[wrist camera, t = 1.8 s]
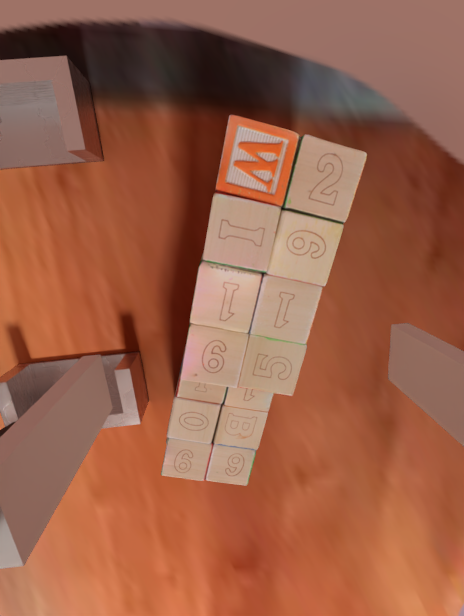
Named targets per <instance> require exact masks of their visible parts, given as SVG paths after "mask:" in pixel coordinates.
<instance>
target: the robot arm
mask: <svg viewBox="0 0 464 616" xmlns="http://www.w3.org/2000/svg"><path fill="white" fill-rule="evenodd" d="M388 379H389V380H390V381H391V382H392V383H393V384H394V385H395V386H397V387H398V388H399V389H400V390H401V391H402V392H403V393H404V394H405V395H407V396H408V397H409V398H410V399H411V400H412V401H413V402H414V403H416V404H417V405H418V406H419V407H420V408H421V409H422V410H423V411H425V412H426V413H427V414H428V415H429V416H430V417H431V418H432V419H433V420H435V421H436V422H437V423H438V424H439V425H440V426H441V427H442V428H444V429H445V430H446V431H447V432H448V433H449V434H450V435H451V436H453V437H454V438H455V439H456V440H457V441H458V442H459V443H460V444H462V445H463V446H464V351H462V350H460V349H458V348H456V347H454V346H452V345H450V344H448V343H446V342H444V341H442V340H440V339H438V338H436V337H435V336H433V335H431V334H429V333H427V332H425V331H423V330H421V329H419V328H417V327H415V326H413V325H411V324H409V323H403V324H393V325H391V339H390V355H389V370H388ZM112 409H113V407H112V403H111V399H110V394H109V390H108V386H107V381H106V377H105V373H104V368H103V364H102V359H101V355H90V356H83V357H82V358H81V359H80V360H79V361H78V362H77V363H75V364H74V365H73V366H72V367H71V368H70V369H69V370H68V371H67V372H66V373H65V374H64V375H63V376H62V377H61V378H60V379H59V380H58V381H57V382H56V383H55V384H54V385H53V386H52V387H51V388H50V389H49V390H48V391H47V392H46V393H45V394H44V395H43V396H42V397H41V398H40V399H39V400H38V401H37V402H36V403H35V404H34V405H33V406H32V407H31V408H30V409H29V410H28V411H27V412H26V413H25V414H24V415H23V416H22V417H20V418H19V419H18V420H17V421H16V422H12V423H11V424H9V425H8V426H6V427H5V428H3V429H1V430H0V569H2V568H11V567H19V566H24V565H25V563H26V561H27V559H28V557H29V556H30V554H31V552H32V550H33V549H34V547H35V545H36V543H37V542H38V540H39V538H40V536H41V534H42V533H43V531H44V529H45V527H46V526H47V524H48V522H49V520H50V519H51V517H52V515H53V513H54V511H55V510H56V508H57V506H58V504H59V503H60V501H61V499H62V497H63V495H64V494H65V492H66V490H67V488H68V487H69V485H70V483H71V481H72V480H73V478H74V476H75V474H76V472H77V471H78V469H79V467H80V465H81V464H82V462H83V460H84V458H85V457H86V455H87V453H88V451H89V449H90V448H91V446H92V444H93V442H94V441H95V439H96V437H97V435H98V434H99V432H100V430H101V428H102V426H103V425H104V423H105V421H106V419H107V418H108V416H109V414H110V412H111V411H112Z"/></svg>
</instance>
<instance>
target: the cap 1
mask: <svg viewBox="0 0 464 616" xmlns="http://www.w3.org/2000/svg"><path fill="white" fill-rule="evenodd" d="M97 161H104V158H103V152H102V147H101V142H100V136H99V131H98V126H97V120H96V115H95V110H94V104H93V99H92V94H91V88H90V83H89V82H88V80H87V79H86V78H85V77H84V76H83V74H82V73H81V72H80V71H79V70H78V69H77V67H76V66H75V65H74V64H73V63H72V62H71V60H70V59H69V58H68V57H67V56H55V57H40V58H25V59H11V60H0V169H12V168H24V167H36V166H48V165H60V164H73V163H85V162H97Z"/></svg>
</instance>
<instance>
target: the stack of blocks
mask: <svg viewBox="0 0 464 616" xmlns="http://www.w3.org/2000/svg"><path fill="white" fill-rule="evenodd" d="M366 157H367V154H366V153H365V152H363V151H360V150H356V149H353V148H349V147H346V146H343V145H339V144H336V143H333V142H329V141H326V140H323V139H320V138H316V137H313V136H310V135H304V136H302V137H300V136H299V134H298V133H296V132H293V131H291V130H288V129H284V128H280V127H277V126H273V125H270V124H266V123H263V122H259V121H255V120H252V119H248V118H244V117H241V116H237V115H230V116H229V120H228V125H227V130H226V135H225V141H224V146H223V152H222V157H221V162H220V167H219V172H218V177H217V182H216V191H215V193H214V195H213V199H212V205H211V211H210V217H209V223H208V229H207V235H206V241H205V247H204V252H203V254H202V258H201V262H200V264H199V268H198V274H197V279H196V286H195V291H194V297H193V303H192V309H191V315H190V325H189V330H188V335H187V341H186V345H185V350H184V354H183V359H182V364H181V369H180V373H179V378H178V383H177V388H176V392H175V396H174V400H173V405H172V410H171V415H170V420H169V425H168V430H167V440H166V444H167V447H166V452H165V457H164V461H163V466H162V471H161V475H163V476H170V477H178V478H186V479H193V480H199V481H203V480H208V481H214V482H221V483H230V484H238V485H245V486H246V485H247V484H248V481H249V477H250V473H251V470H252V466H253V463H254V459H255V455H256V450H257V449H258V447H259V444H260V440H261V436H262V433H263V429H264V425H265V422H266V419H267V415H268V411H269V409H270V406H271V402H272V398H273V395H274V393H276V394H281V395H286V396H292V395H293V393H294V390H295V386H296V383H297V379H298V376H299V372H300V369H301V365H302V362H303V359H304V355H305V352H306V349H307V344H306V343H307V340H308V337H309V334H310V331H311V328H312V324H313V321H314V317H315V313H316V310H317V307H318V304H319V301H320V297H321V294H322V288H323V287H324V286H325V285H326V283H327V280H328V277H329V274H330V270H331V267H332V264H333V261H334V257H335V254H336V251H337V248H338V244H339V241H340V238H341V234H342V231H343V223H344V222H345V221H346V220H347V218H348V215H349V212H350V209H351V206H352V203H353V199H354V196H355V193H356V190H357V187H358V184H359V181H360V178H361V175H362V171H363V168H364V165H365V162H366Z"/></svg>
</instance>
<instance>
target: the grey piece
mask: <svg viewBox="0 0 464 616" xmlns="http://www.w3.org/2000/svg"><path fill="white" fill-rule="evenodd" d="M81 358H82V357H81ZM81 358H71V359H62V360H53V361H43V362H34V363H25V364H18V365H17V366H15V367H14V368H12V369H11V370H10V371H8V372H7V373H5V374H4V375H2V376H1V377H0V413H1V416H2V418H3V421H4V424H5V427H6V426H8V425H9V424H11V423H12V422H16V421H17V420H18V419H19V418H20V417H22V416H23V415H24V414H25V413H26V412H27V411H28V410H29V409H30V408H31V407H32V406H33V405H34V404H35V403H36V402H37V401H38V400H39V399H40V398H41V397H42V396H43V395H44V394H45V393H46V392H47V391H48V390H49V389H50V388H51V387H52V386H53V385H54V384H55V383H56V382H57V381H58V380H59V379H60V378H61V377H62V376H63V375H64V374H65V373H66V372H67V371H68V370H69V369H70V368H71V367H72V366H73V365H74V364H75V363H77V362H78V361H79V360H80V359H81ZM101 359H102V364H103V368H104V373H105V377H106V381H107V386H108V390H109V394H110V399H111V403H112V407H113V409H112V411H111V412H110V414H109V416H108V418H107V419H106V421H105V423H104V425H103V426H102V428H109V427H118V426H127V425H135V424H141V421H142V418H143V416H144V413H145V410H146V407H147V405H148V402H149V398H148V393H147V387H146V382H145V377H144V371H143V366H142V361H141V355H140V351H136V352H127V353H118V354H108V355H101Z"/></svg>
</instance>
